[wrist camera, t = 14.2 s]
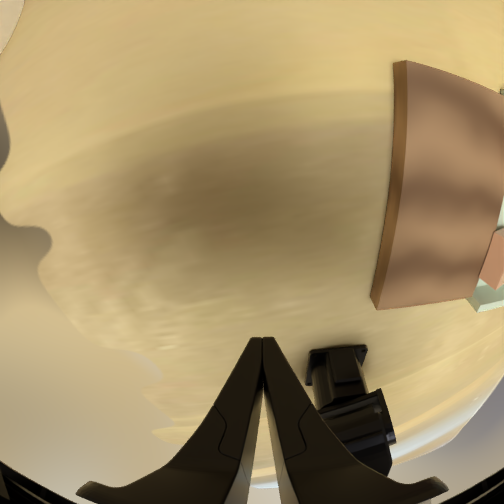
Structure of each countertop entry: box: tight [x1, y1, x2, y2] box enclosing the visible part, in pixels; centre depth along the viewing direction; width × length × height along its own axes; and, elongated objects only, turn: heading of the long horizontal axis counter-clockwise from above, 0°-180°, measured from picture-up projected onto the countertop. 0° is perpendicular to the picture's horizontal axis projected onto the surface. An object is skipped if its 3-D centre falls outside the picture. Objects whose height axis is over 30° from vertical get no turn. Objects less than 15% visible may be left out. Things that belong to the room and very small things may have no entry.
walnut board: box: [370, 60, 504, 310], centre depth 18 cm, size 20×12×2 cm, turn 3°
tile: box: [479, 228, 504, 291], centre depth 19 cm, size 5×5×2 cm
